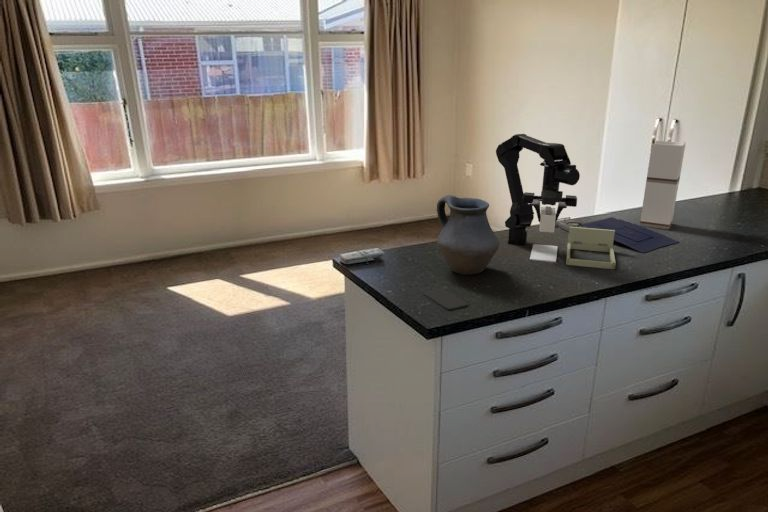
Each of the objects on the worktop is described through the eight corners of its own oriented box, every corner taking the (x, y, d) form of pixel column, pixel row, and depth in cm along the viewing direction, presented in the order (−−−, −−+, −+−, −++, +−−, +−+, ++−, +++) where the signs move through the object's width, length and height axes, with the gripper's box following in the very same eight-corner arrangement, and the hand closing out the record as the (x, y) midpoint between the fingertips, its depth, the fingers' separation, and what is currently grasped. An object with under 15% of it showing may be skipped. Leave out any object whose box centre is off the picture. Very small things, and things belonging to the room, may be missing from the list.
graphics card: (547, 219, 245) (569, 216, 249) (546, 228, 246) (568, 224, 251) (574, 230, 230) (597, 226, 235) (573, 239, 232) (596, 235, 236)
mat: (529, 260, 205) (529, 258, 204) (533, 245, 221) (533, 244, 221) (555, 262, 202) (555, 261, 202) (557, 247, 218) (557, 246, 218)
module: (539, 231, 203) (541, 213, 201) (539, 222, 214) (541, 205, 212) (554, 232, 202) (556, 214, 200) (553, 223, 213) (555, 206, 211)
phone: (440, 287, 179) (469, 304, 166) (440, 290, 179) (469, 306, 167) (420, 292, 176) (448, 309, 163) (420, 294, 176) (448, 311, 163)
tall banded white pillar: (672, 223, 249) (685, 142, 238) (668, 229, 241) (682, 145, 230) (643, 220, 255) (655, 140, 244) (639, 225, 247) (651, 143, 235)
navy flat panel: (613, 222, 247) (615, 214, 246) (677, 248, 225) (680, 239, 224) (576, 231, 235) (578, 223, 233) (641, 259, 212) (643, 250, 211)
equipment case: (566, 264, 200) (568, 242, 197) (567, 246, 219) (569, 226, 217) (615, 269, 195) (618, 247, 193) (611, 250, 214) (614, 230, 212)
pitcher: (482, 285, 182) (486, 209, 173) (421, 272, 192) (423, 200, 184) (505, 266, 198) (510, 196, 190) (448, 256, 209) (451, 188, 201)
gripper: (522, 182, 198) (518, 226, 203) (579, 186, 193) (574, 230, 198) (525, 176, 208) (521, 218, 213) (579, 180, 203) (574, 222, 208)
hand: (547, 222), depth 208 cm, fingers closed on module, 5 cm apart
